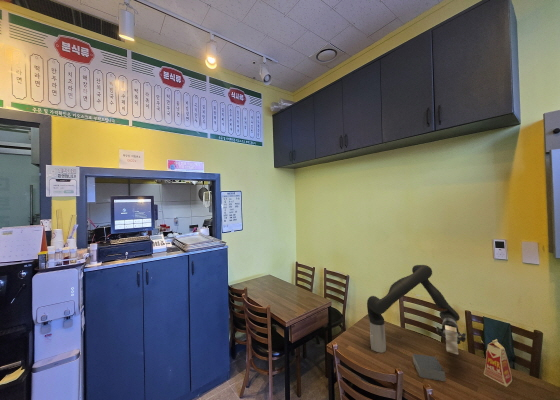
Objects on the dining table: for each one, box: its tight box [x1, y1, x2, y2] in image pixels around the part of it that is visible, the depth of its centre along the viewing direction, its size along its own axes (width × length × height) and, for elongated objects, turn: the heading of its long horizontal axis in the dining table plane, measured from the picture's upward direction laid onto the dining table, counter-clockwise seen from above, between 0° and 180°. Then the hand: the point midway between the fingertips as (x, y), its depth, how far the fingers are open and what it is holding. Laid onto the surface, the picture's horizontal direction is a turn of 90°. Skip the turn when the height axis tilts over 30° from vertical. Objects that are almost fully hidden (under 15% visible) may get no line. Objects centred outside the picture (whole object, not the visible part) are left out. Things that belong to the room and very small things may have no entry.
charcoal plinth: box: [412, 353, 446, 383], centre depth 121 cm, size 12×12×5 cm
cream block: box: [445, 325, 459, 355], centre depth 119 cm, size 5×5×12 cm
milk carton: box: [483, 338, 513, 388], centre depth 115 cm, size 9×9×20 cm
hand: (451, 340), depth 117 cm, fingers closed on cream block, 5 cm apart
